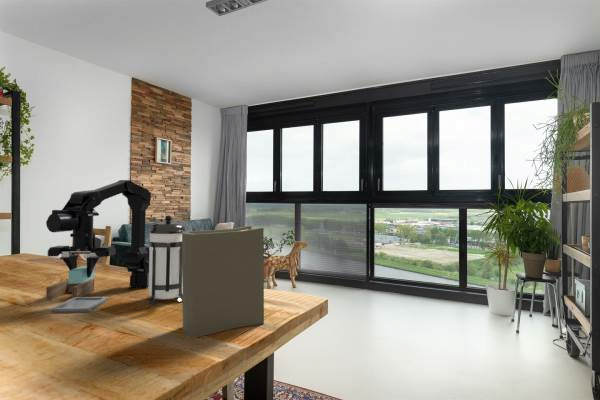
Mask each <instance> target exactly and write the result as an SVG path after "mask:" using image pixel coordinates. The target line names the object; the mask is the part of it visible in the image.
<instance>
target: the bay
mask: <svg viewBox="0 0 600 400" xmlns="http://www.w3.org/2000/svg"><path fill="white" fill-rule="evenodd" d="M68 280H69V278H68V279H67V278H66V279H63V280H62V281H59V282H56V283H54V284H52V285H49V286H46V288H45V289H46V294H45V295H46V296H45V297H46V298H45V299H46V301H53V300H55V299H57V298H59V297H61V296H63V295H65V294H68V293H72V297H71V299H72V298H74V297H87V296H88V295H89V294H91V293H93V292H95V278H93V279H90V280H88V281H86V282H84V283H68Z"/></svg>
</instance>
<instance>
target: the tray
mask: <svg viewBox="0 0 600 400" xmlns="http://www.w3.org/2000/svg"><path fill="white" fill-rule="evenodd" d="M108 300H109V297H108V296H84V297H74V298H72V297H71V298H70V299H67V300H66V301H64V302H62V303H60V304H58V305H56V306H54V307H52V308H51V310H50V313H51V312H69V313H90V312H91V310H92V311H93V310H95V309H96V308H98V307H99V306H101V305H103V304H104V303H106V302H107V301H108ZM89 311H90V312H89Z"/></svg>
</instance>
